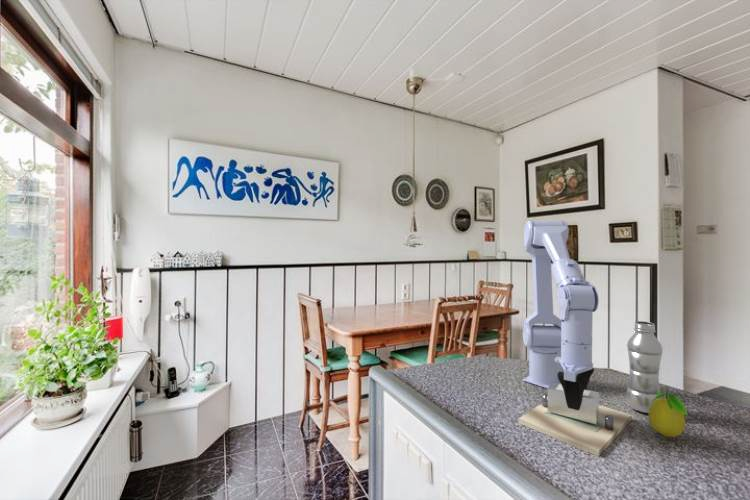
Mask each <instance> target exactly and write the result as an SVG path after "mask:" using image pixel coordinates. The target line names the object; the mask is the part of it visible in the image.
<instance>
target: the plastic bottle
mask: <svg viewBox="0 0 750 500" xmlns="http://www.w3.org/2000/svg"><path fill="white" fill-rule="evenodd" d="M634 331H635V333H633V335H631V336H630V338H629V339H628V342H627V344H626V346H627V353H628V360H629V378H628V386H627V389H626V394H625V396H626V398H625V399H626V403H627V404H628V406H629V407H630V408H632V409H633V410H635V411H638V412H640V413H643V414H649V409H650V406H651V405H652V403H653V402H654V401H656V400H657V399H660V398H662V397H660V398H657V399H656V400H654V398H655V397H656V395H657V394H658V393H659V392H661V390H660V379H659V378H660V365H661V361H662V355H663V346H662V343H661V342H660V340H659V339H658V338H657V336H656V335H655V334H654V333H656V325H655V323H653V322H649V321H641V320H640V321H639V320H638V321H635V322H634ZM653 400H654V401H653ZM652 401H653V402H652Z"/></svg>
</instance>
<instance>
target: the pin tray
mask: <svg viewBox="0 0 750 500" xmlns="http://www.w3.org/2000/svg"><path fill="white" fill-rule="evenodd" d="M632 415H633V414H629V413H627V412H623V411H620V410H616V409H613V408H610V407H607V406H604V405H601V404H599V418H598V421H597V424H593V423H589V422H585V421H582V420H578V419H574V418H571V417H567V416H563V415H560V414H556V413H552V412H549V411H548V393H543V394H542V402H541V403H540V404H538V405H537V406H535V407H534V408H532V409H530V410H529V411H527V412H526V413H525V414H523V415H521V416H520V417H519V418H518V424H519V425H523V426H524V427H527V428H528V429H529V428H530V429H532V430H534V431H536V432H539V433H542V434H544V435H545V436H549V437H551V438H554V439H556V440H558V441H560V442H563V443H565V444H568V445H570V446H572V447H575V448H577V449H579V450H582V451H584V452H586V453H590V454H592V455H594V456H596V457H600V456H601V454H603V453H604V451H605V450H607V448H608V447H609V446H610V445H611V444H612V442H613V441H614V440H615V439H616V438H617V437H618V436H619V435H620V433H621V432H623V430H624V429H625V428H626V427H627V425H629V423H630V422H631V421H632V419H633V416H632Z"/></svg>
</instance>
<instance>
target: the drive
mask: <svg viewBox="0 0 750 500" xmlns="http://www.w3.org/2000/svg"><path fill="white" fill-rule="evenodd" d="M547 395H548V411H549V412H552V413H556V414H560V415H563V416H567V417H571V418H574V419H578V420H582V421H585V422H589V423H593V424H597V421H598V418H599V405H600V392H598V391H594V390H590V389H584V392H583V397H582V402H581V406H580V409H579V410H574V409H571V408H568V406H567V403H566V398H565V394H564V390H563V387H562V385H561V384H559V383H554V382H552V383H551V385H550V386H549V387H548V388H547Z"/></svg>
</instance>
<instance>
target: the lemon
mask: <svg viewBox="0 0 750 500" xmlns="http://www.w3.org/2000/svg"><path fill="white" fill-rule="evenodd" d="M660 397H661V398H660ZM662 397H664V398H662ZM657 398H660V399H657ZM656 399H657V400H656ZM654 400H656V401H654ZM654 400H653V401H654V402H653V401H652V402H653V403H652V405H651V406H650V409H649V413H648V421H649V423H650V426H651V428H653V430H655V431H656V432H658V433H659V434H660V435H662V436H663V437H665V438H670V437H678V436H680V435H682V433H683V432H684V430H685V427H686V417H685V415H686V416H688V415H689V414H688V412H687V411H688V410H687V408H686V406H685V404H684V403H683V402H682V400H681V399H680V398H679V397H677V396H676V395H675V394H671V393H670V392H669V391H668V387H667V386H665V393H663V392H661V391H660V392H659V393H658V394H657V395H656V397H655V398H654Z"/></svg>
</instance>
